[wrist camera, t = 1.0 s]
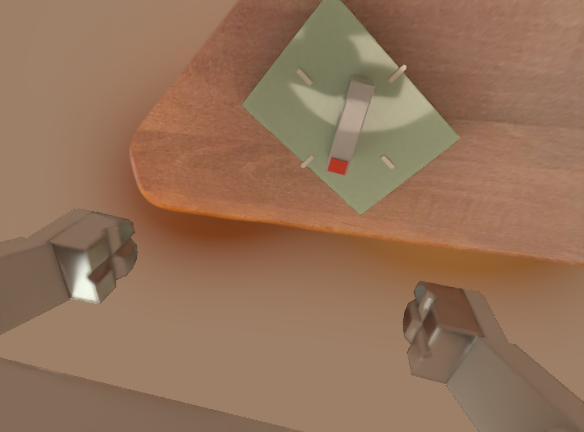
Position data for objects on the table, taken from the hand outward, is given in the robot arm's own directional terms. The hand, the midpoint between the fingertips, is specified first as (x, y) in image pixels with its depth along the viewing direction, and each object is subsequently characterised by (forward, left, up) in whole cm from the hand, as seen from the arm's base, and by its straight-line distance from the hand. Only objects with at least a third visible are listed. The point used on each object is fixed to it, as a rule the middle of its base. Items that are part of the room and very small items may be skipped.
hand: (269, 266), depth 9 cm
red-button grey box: (+2, +1, -18) cm, 18 cm away
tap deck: (+2, +1, -21) cm, 21 cm away
